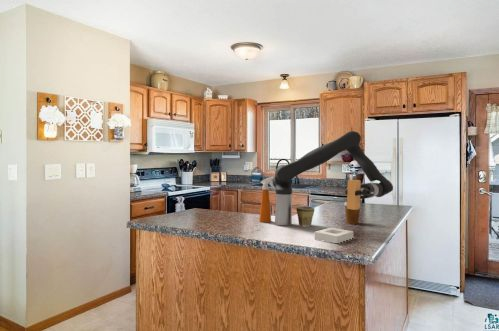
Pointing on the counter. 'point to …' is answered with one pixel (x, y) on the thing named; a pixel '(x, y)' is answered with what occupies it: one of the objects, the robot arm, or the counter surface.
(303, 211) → the olive green flower pot
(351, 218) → the disposable coffee cup
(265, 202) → the spray bottle
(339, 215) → the counter surface
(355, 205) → the plug
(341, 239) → the socket
